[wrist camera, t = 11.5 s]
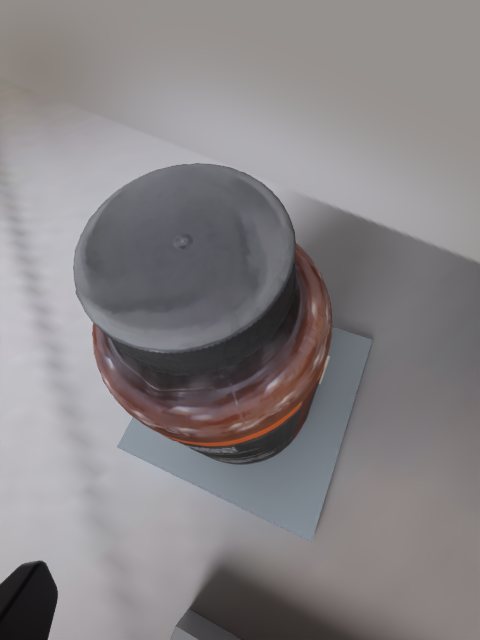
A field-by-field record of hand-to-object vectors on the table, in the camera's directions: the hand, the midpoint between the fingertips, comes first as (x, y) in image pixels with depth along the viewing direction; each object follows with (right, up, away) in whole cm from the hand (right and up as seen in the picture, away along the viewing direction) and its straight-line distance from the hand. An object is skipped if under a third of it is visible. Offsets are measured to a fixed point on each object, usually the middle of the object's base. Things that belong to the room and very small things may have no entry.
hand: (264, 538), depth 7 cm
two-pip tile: (0, +1, +10) cm, 10 cm away
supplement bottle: (0, +1, +9) cm, 9 cm away
